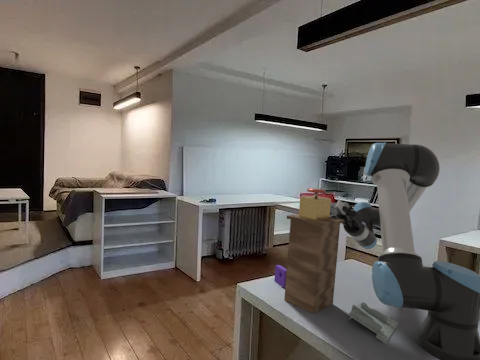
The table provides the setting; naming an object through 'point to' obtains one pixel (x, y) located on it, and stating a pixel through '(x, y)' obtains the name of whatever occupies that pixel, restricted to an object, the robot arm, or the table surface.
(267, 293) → the table surface
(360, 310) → the metal bracket
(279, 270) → the bracket
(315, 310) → the stand
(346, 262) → the table surface
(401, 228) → the robot arm
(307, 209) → the valve pipe
